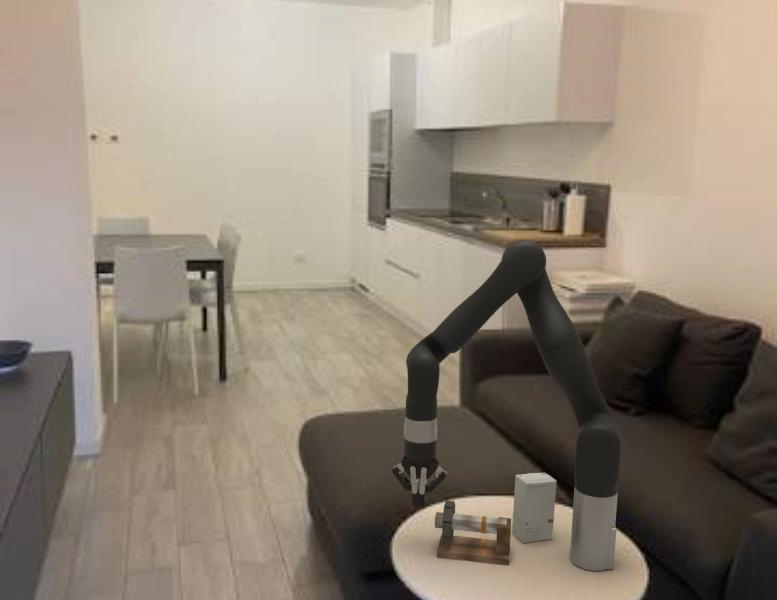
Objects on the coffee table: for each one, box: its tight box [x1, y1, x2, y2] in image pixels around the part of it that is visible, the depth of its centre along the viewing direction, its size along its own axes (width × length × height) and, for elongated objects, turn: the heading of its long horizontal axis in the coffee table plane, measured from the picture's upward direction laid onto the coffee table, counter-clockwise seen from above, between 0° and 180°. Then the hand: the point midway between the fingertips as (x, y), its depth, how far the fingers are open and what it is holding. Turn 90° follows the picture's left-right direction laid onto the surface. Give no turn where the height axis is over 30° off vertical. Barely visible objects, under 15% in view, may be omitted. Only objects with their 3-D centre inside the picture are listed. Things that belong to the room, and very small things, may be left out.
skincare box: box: [511, 472, 557, 544], centre depth 183 cm, size 8×6×15 cm
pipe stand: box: [434, 511, 512, 566], centre depth 175 cm, size 17×8×8 cm, turn 79°
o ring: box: [441, 499, 456, 542], centre depth 176 cm, size 2×9×9 cm, turn 169°
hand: (418, 507), depth 176 cm, fingers closed
